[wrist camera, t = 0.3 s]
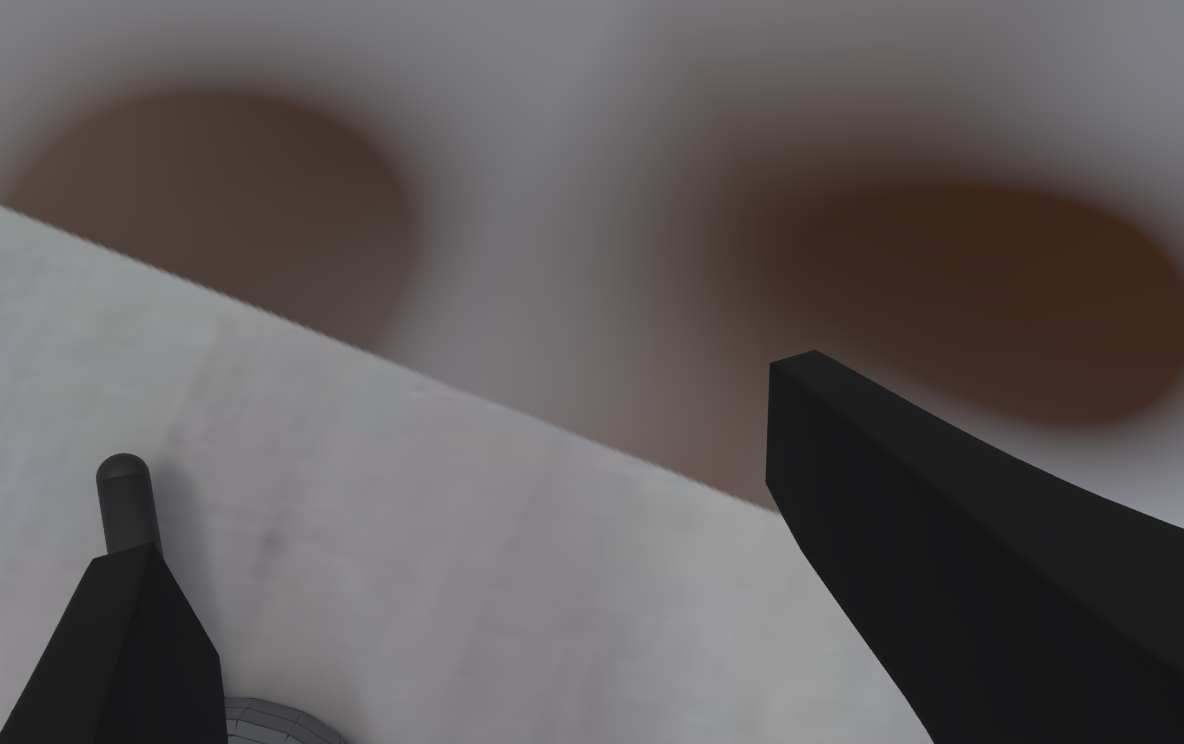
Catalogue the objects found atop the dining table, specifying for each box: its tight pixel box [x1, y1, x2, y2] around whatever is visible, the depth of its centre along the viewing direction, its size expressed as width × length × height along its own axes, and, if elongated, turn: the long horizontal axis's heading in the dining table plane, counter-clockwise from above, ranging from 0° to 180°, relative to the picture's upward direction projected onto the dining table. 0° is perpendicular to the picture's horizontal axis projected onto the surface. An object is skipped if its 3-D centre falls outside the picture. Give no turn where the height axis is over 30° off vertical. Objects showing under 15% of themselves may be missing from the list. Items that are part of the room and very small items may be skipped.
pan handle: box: [96, 453, 164, 559], centre depth 35 cm, size 10×2×2 cm, turn 12°
